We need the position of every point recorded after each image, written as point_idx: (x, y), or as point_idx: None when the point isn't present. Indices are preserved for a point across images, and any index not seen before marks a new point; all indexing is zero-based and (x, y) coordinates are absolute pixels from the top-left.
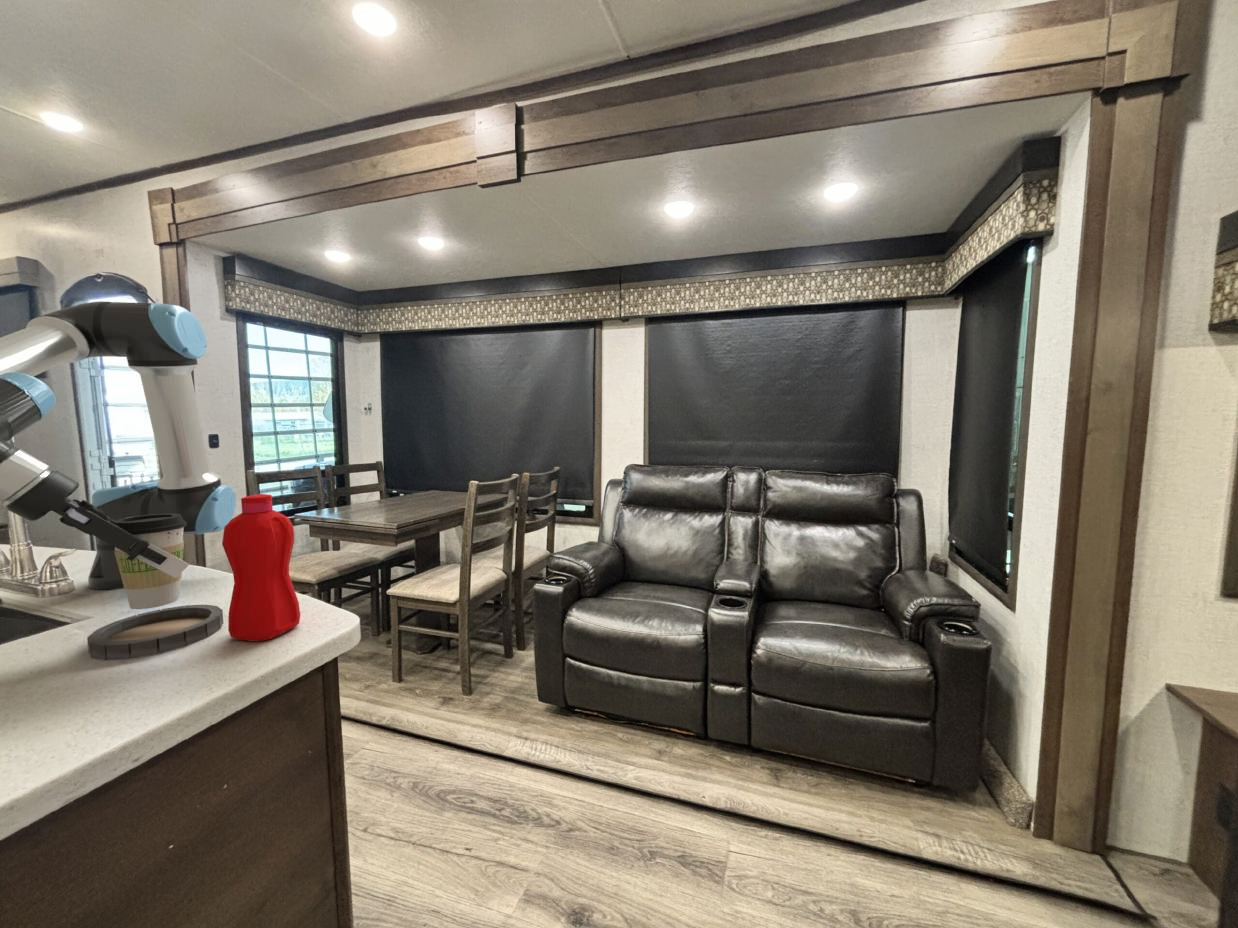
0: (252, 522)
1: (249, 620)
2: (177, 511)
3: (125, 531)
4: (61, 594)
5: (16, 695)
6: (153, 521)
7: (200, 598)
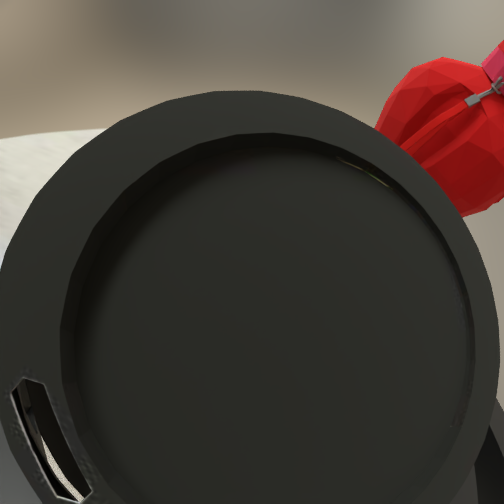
0: None
1: None
2: None
3: (472, 470)
4: None
5: None
6: (493, 332)
7: (13, 220)
